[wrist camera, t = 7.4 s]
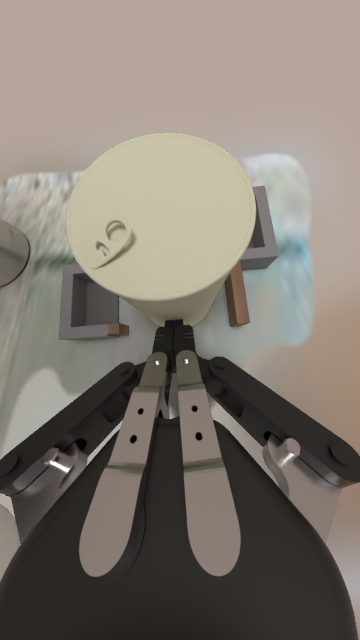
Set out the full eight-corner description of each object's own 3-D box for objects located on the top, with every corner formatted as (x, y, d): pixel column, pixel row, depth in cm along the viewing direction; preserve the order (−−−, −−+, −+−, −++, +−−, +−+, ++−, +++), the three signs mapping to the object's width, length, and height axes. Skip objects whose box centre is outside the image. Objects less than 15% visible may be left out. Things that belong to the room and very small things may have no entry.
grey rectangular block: (124, 291, 19) (16, 201, 7) (177, 243, 19) (162, 88, 8) (174, 346, 17) (146, 348, 6) (230, 292, 18) (310, 192, 6)
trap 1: (233, 271, 18) (240, 259, 16) (224, 208, 20) (229, 189, 18) (266, 267, 18) (278, 255, 16) (254, 205, 20) (264, 185, 17)
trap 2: (76, 340, 18) (58, 339, 16) (79, 275, 20) (63, 265, 17) (118, 336, 18) (107, 335, 15) (118, 271, 19) (108, 260, 17)
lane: (118, 335, 18) (99, 332, 14) (118, 212, 21) (101, 181, 17) (241, 325, 17) (256, 320, 13) (223, 200, 20) (231, 165, 16)
